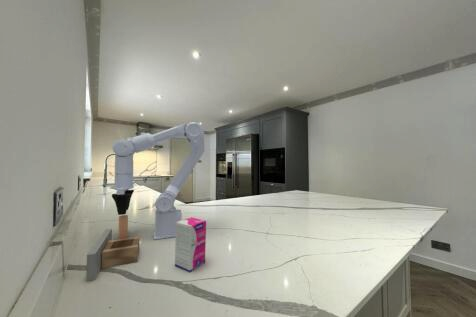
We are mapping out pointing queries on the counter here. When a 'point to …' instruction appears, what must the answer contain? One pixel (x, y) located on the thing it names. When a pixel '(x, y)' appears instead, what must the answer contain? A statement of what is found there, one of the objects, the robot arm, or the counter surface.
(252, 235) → the counter surface
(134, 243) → the socket block
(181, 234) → the supplement box
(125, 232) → the dowel
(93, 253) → the wall
